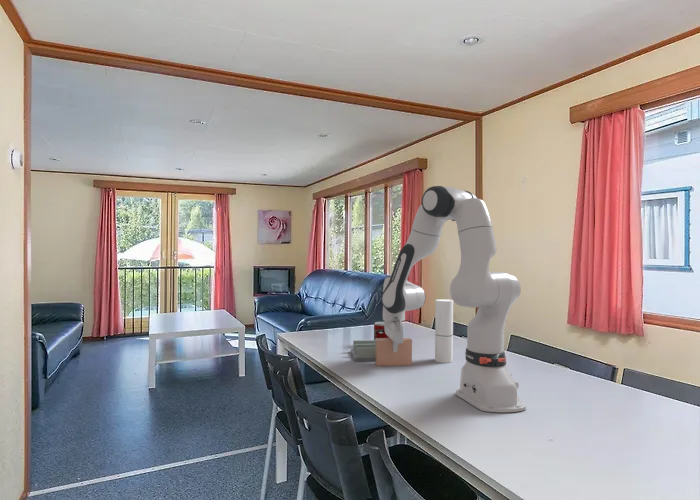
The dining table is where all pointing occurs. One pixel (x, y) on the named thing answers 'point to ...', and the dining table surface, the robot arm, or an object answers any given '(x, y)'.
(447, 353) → the cylindrical container
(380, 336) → the canned food
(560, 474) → the dining table surface
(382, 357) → the terracotta tile
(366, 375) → the dining table surface
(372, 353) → the slotted rail base
